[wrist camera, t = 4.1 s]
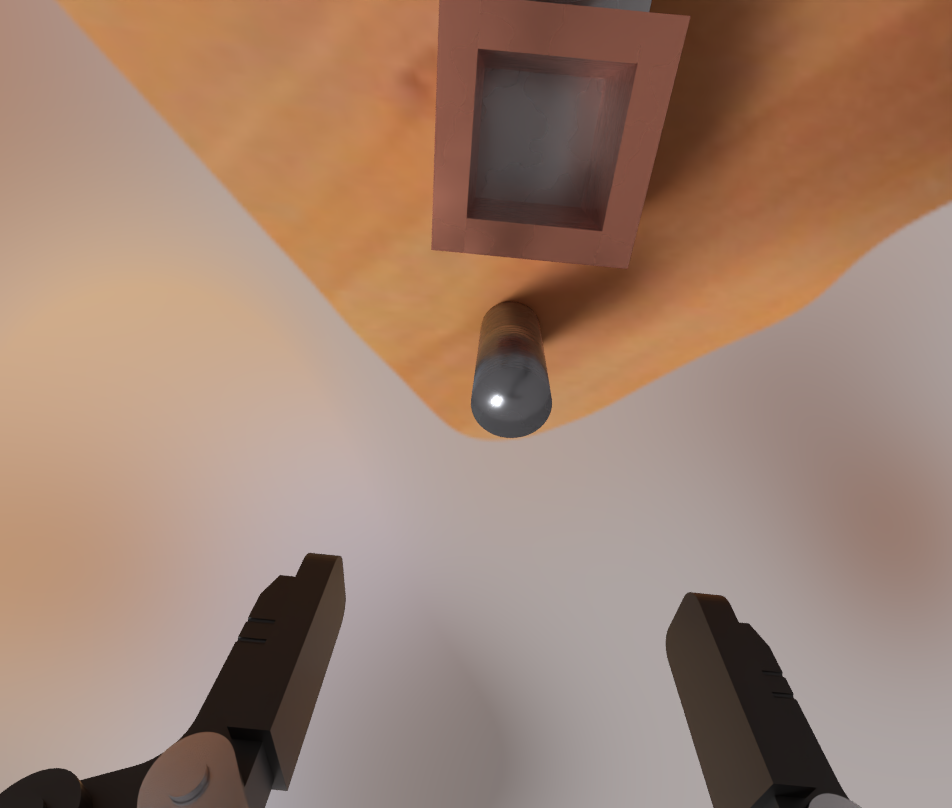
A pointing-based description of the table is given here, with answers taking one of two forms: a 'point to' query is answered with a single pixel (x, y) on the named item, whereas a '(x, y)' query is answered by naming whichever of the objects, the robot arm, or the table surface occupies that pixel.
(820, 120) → the table surface
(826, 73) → the table surface
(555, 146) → the grey and brown stand
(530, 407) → the pin
